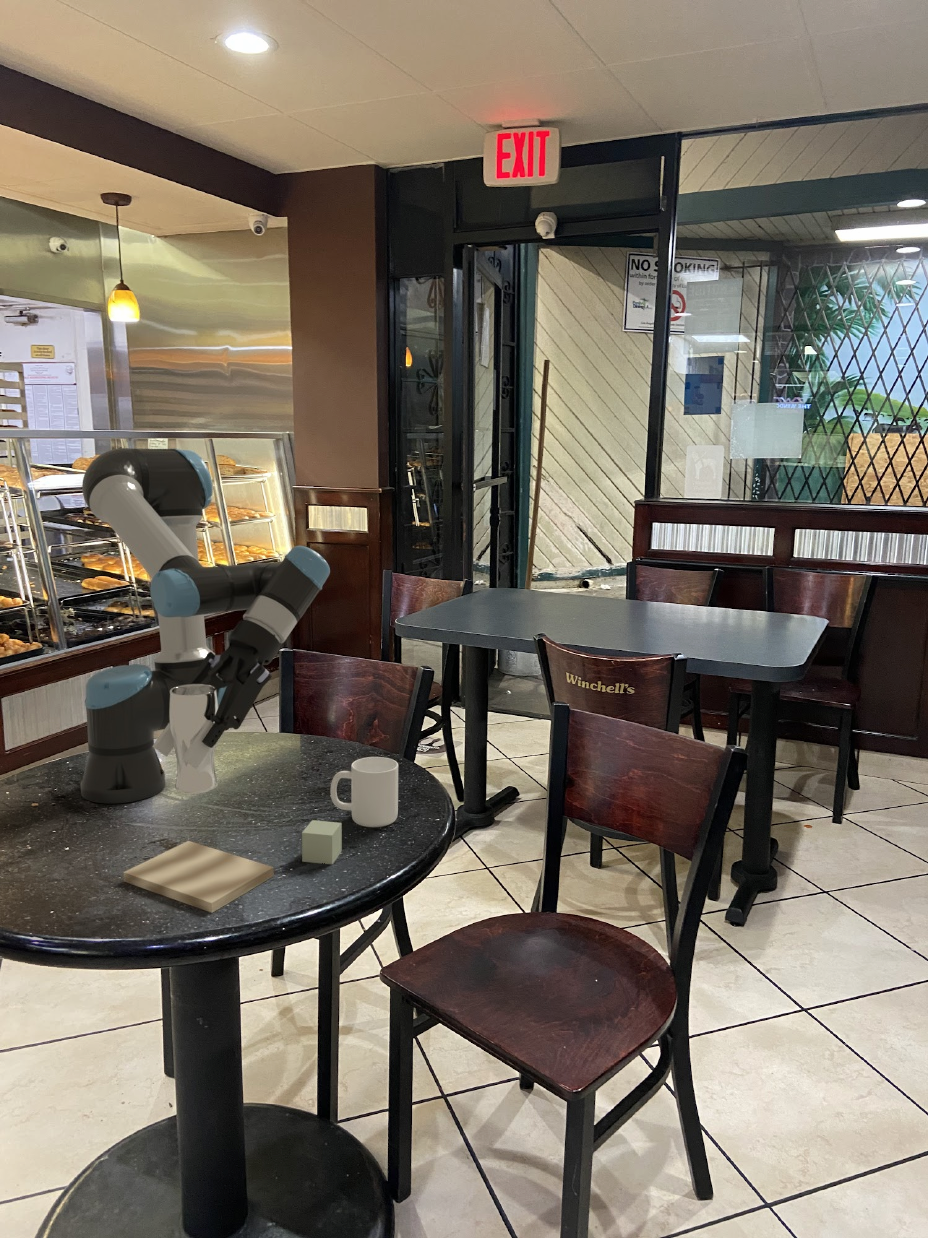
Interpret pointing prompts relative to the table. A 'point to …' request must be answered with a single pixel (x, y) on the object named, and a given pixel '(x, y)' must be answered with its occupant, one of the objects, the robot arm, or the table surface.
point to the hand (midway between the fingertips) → (174, 757)
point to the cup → (370, 791)
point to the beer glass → (192, 734)
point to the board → (199, 875)
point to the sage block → (321, 842)
